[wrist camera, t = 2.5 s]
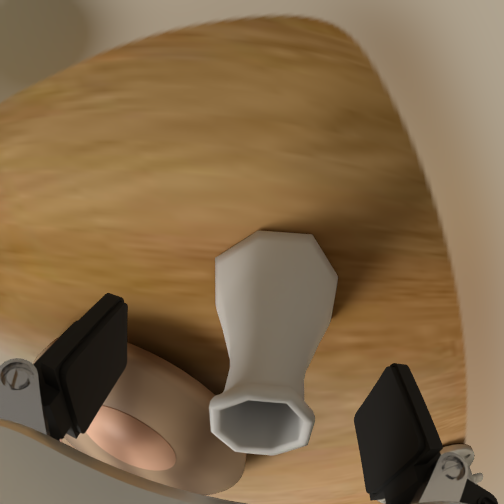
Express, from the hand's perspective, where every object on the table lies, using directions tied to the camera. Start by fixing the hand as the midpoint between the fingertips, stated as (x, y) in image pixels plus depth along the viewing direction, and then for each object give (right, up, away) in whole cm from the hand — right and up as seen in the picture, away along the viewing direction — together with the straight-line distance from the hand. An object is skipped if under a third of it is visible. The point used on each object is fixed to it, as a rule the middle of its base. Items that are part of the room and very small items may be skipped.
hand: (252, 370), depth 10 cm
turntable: (-10, -11, +12) cm, 19 cm away
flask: (+1, +2, +8) cm, 8 cm away
